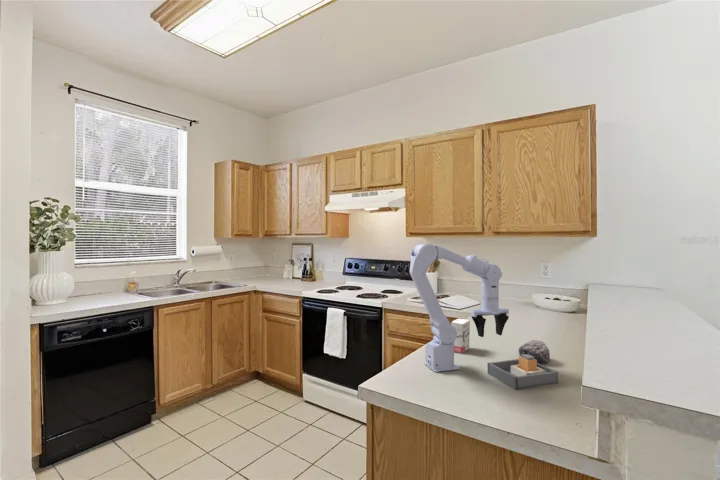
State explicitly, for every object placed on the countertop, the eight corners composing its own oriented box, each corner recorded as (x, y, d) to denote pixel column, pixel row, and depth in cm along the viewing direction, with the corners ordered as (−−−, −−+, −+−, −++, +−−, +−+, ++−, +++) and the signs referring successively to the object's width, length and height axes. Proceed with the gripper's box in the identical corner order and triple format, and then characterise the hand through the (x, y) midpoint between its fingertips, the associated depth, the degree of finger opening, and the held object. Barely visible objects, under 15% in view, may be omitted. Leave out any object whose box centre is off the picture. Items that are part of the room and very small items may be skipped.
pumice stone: (526, 371, 121) (555, 365, 119) (520, 350, 121) (549, 344, 120) (518, 360, 131) (545, 354, 130) (513, 341, 132) (539, 335, 130)
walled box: (515, 389, 101) (515, 378, 101) (487, 373, 113) (487, 362, 113) (558, 383, 106) (558, 372, 105) (526, 368, 118) (526, 358, 118)
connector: (527, 378, 108) (527, 358, 108) (518, 373, 112) (518, 354, 112) (536, 377, 109) (536, 357, 109) (527, 372, 113) (527, 353, 113)
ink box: (462, 354, 132) (462, 323, 132) (450, 351, 135) (450, 321, 135) (470, 348, 139) (470, 319, 139) (458, 346, 142) (458, 317, 142)
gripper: (479, 300, 115) (479, 340, 115) (514, 298, 119) (514, 336, 120) (467, 297, 122) (467, 334, 122) (501, 295, 126) (501, 331, 126)
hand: (490, 335), depth 121 cm, fingers open, 7 cm apart
